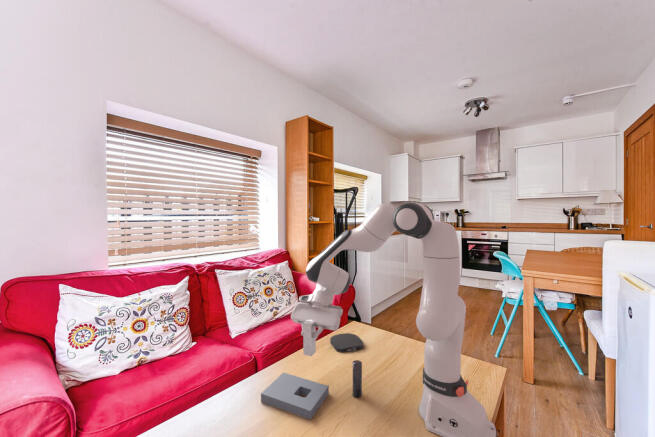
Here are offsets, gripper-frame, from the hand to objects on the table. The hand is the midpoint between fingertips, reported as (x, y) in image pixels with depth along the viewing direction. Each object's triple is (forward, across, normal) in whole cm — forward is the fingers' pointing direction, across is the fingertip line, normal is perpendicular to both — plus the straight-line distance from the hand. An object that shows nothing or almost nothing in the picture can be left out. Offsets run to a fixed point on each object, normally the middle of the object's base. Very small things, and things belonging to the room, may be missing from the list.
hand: (308, 336), depth 103 cm
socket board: (+19, +2, -10) cm, 21 cm away
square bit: (+4, 0, -5) cm, 7 cm away
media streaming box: (-13, 0, -42) cm, 44 cm away
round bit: (+11, -18, -18) cm, 27 cm away
